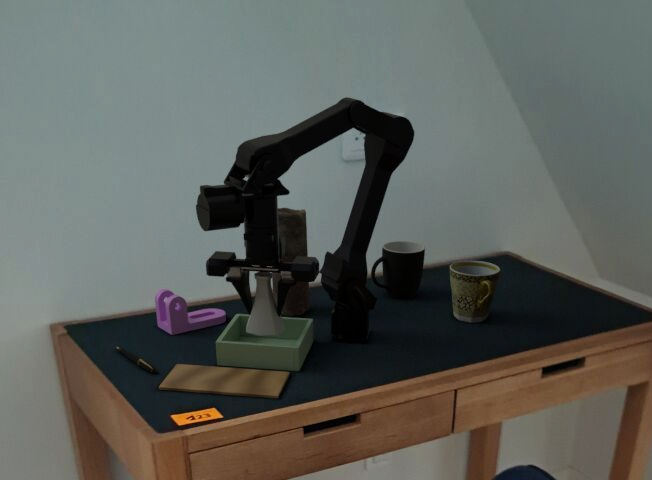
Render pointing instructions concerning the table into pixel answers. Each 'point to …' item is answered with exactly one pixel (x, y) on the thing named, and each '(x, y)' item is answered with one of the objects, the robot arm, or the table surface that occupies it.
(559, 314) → the table surface
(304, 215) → the brown tall block
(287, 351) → the bin
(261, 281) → the flask
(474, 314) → the ceramic cup
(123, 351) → the fountain pen
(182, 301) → the bracket
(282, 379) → the cork mat
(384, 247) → the mug
